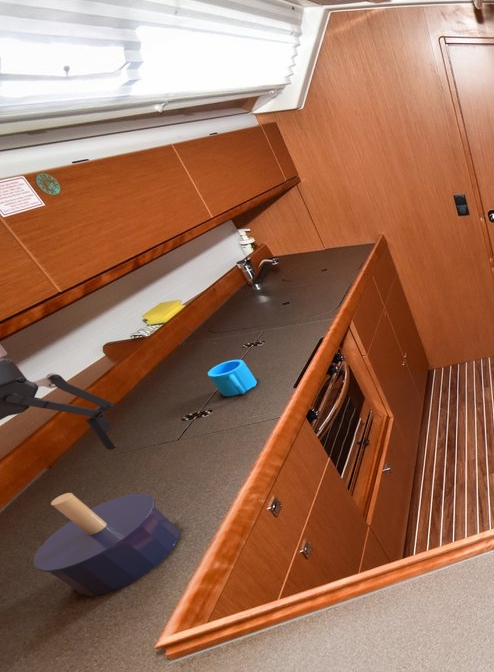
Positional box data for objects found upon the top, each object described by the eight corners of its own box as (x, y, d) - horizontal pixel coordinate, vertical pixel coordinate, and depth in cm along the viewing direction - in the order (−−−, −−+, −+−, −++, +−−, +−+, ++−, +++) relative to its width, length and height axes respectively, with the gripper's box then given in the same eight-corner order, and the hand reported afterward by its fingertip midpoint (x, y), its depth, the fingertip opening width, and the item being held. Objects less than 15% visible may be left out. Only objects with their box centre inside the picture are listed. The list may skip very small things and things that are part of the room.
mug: (220, 390, 125) (205, 369, 121) (253, 376, 130) (240, 356, 126) (229, 406, 118) (213, 385, 114) (263, 391, 124) (250, 370, 120)
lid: (26, 551, 73) (-21, 517, 68) (140, 486, 85) (106, 453, 80) (54, 589, 68) (4, 556, 63) (171, 514, 79) (137, 481, 74)
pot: (68, 575, 78) (29, 548, 73) (163, 516, 89) (134, 488, 84) (94, 610, 73) (55, 582, 68) (192, 542, 83) (163, 514, 79)
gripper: (-198, 415, 53) (-78, 535, 60) (96, 336, 73) (159, 432, 81) (-197, 407, 56) (-83, 522, 63) (84, 334, 77) (146, 427, 84)
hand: (53, 472), depth 72 cm, fingers open, 13 cm apart
